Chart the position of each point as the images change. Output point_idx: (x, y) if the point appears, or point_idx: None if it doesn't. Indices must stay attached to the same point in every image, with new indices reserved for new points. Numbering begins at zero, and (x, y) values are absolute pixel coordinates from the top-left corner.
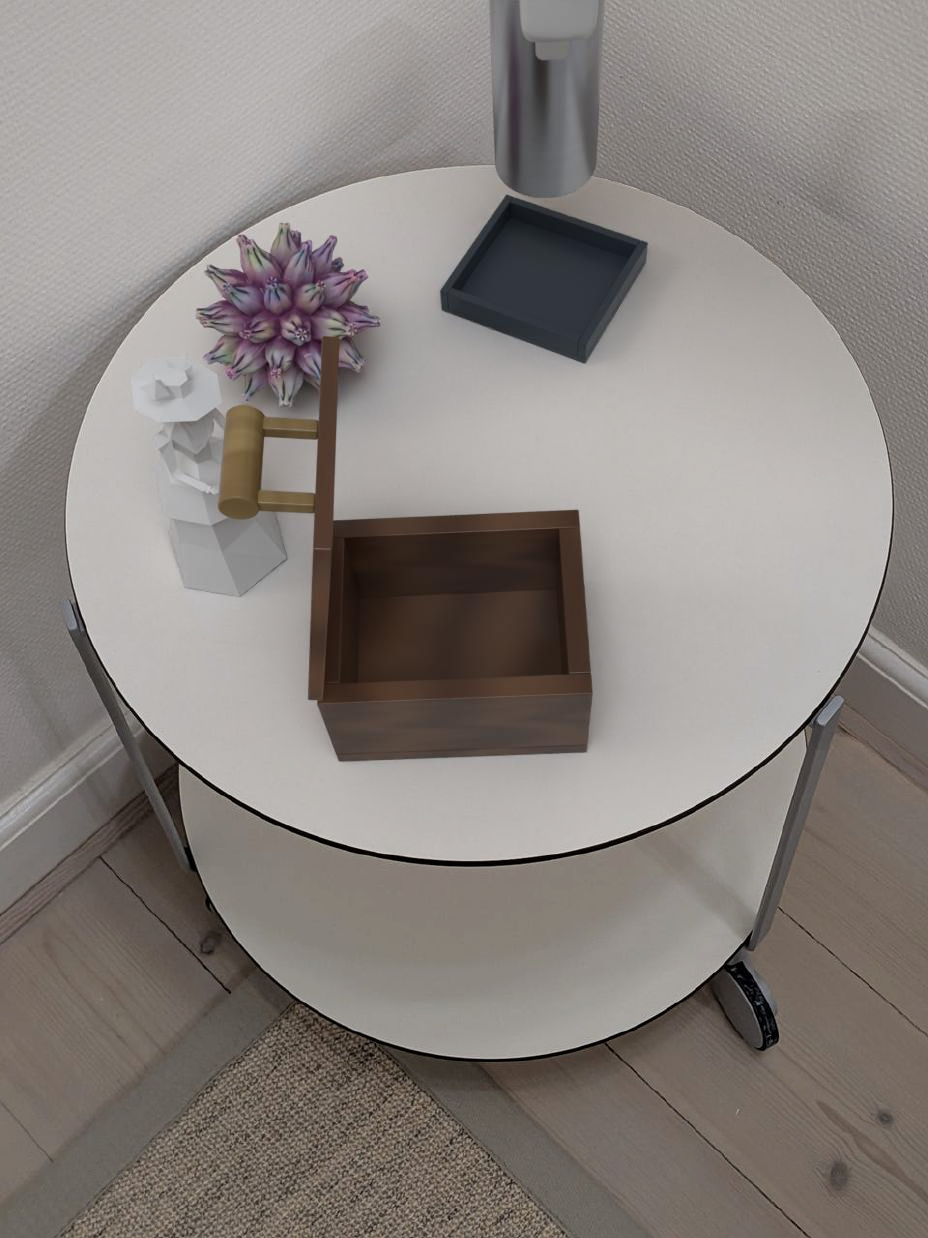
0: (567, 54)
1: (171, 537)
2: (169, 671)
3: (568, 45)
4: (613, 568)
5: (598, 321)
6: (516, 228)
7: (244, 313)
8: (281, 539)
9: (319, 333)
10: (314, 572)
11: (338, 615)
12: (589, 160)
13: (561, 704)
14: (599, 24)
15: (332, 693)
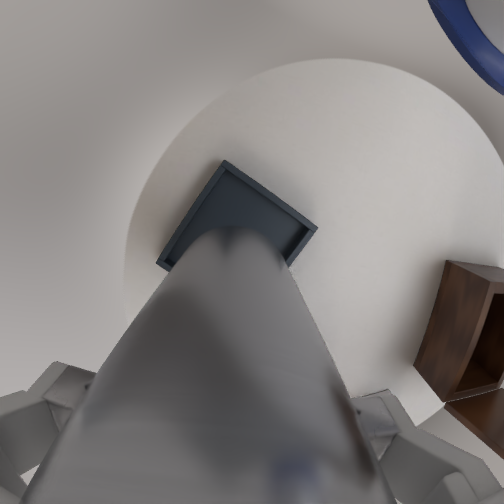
0: (394, 395)
1: None
2: (413, 418)
3: (402, 406)
4: (445, 238)
5: (298, 214)
6: (179, 254)
7: None
8: (379, 393)
9: None
10: None
11: (479, 388)
12: (273, 246)
13: None
14: (296, 319)
15: (499, 384)
